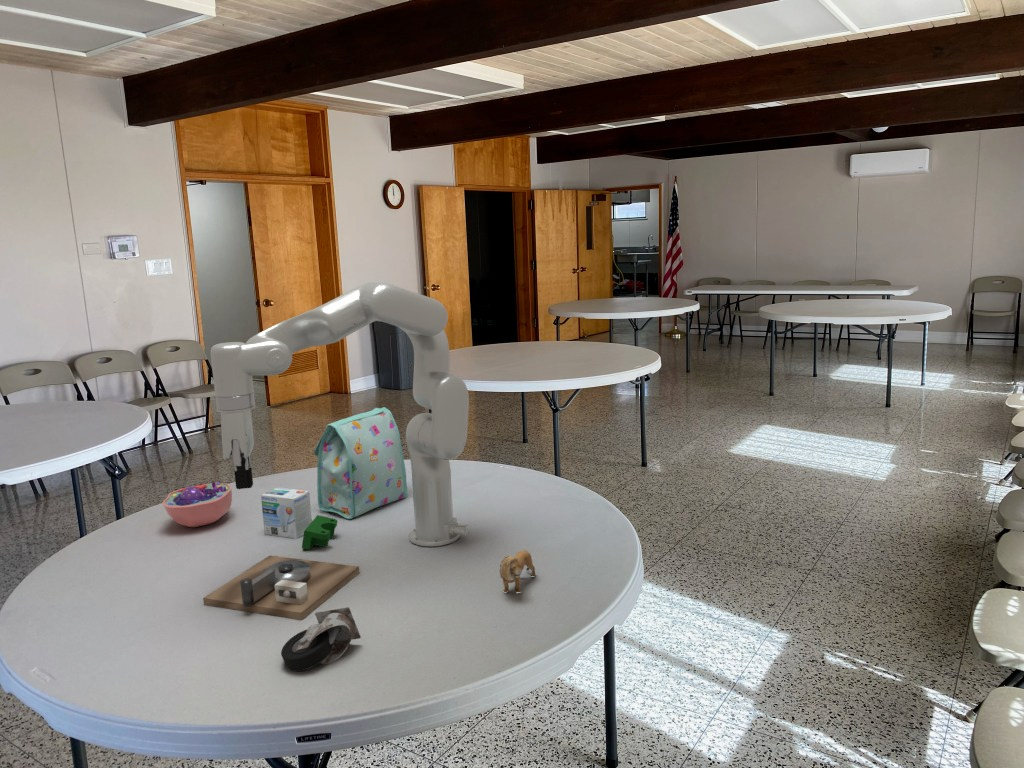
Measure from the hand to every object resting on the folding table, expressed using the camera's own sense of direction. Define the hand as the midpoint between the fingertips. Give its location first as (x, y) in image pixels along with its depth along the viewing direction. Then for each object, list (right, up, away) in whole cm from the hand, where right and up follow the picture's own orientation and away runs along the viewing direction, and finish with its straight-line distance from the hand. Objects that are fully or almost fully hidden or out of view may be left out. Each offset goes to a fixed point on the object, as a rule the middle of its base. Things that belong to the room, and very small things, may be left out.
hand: (244, 487), depth 156 cm
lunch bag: (+14, -13, +55) cm, 58 cm away
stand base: (+7, -22, +4) cm, 24 cm away
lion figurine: (+58, -22, +1) cm, 62 cm away
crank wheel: (+6, -21, +1) cm, 22 cm away
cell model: (-28, -16, +46) cm, 56 cm away
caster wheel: (+22, -28, -24) cm, 43 cm away
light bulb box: (-2, -17, +36) cm, 40 cm away
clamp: (+9, -18, +28) cm, 35 cm away
